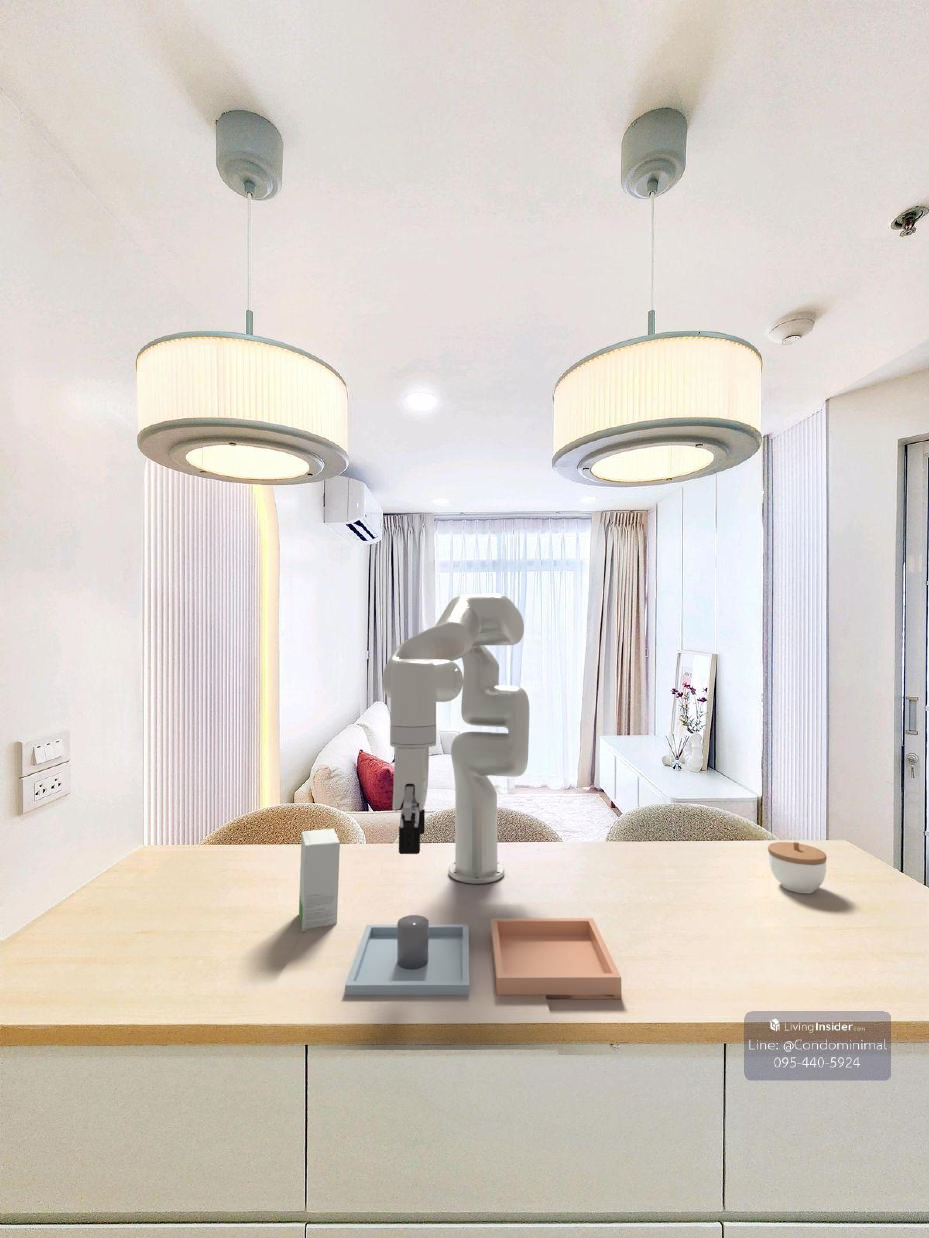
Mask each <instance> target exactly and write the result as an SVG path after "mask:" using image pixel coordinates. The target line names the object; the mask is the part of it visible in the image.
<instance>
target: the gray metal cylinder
mask: <svg viewBox="0 0 929 1238" xmlns="http://www.w3.org/2000/svg"><path fill="white" fill-rule="evenodd" d="M396 925H397V963H398V965H399V966H400V967H402V968H404V969H409V970H414V969H419V968H422V967H424V966H425V965H426V964H427V963H428V925H430V924H429V919H428V918H427V917H426V916H422V915H419V914H411V915H410V914H409V915H406V916H403V917H401V918H399V919H398V921H397V923H396Z"/></svg>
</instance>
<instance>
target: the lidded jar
mask: <svg viewBox="0 0 929 1238" xmlns="http://www.w3.org/2000/svg"><path fill="white" fill-rule="evenodd" d="M767 851H768V862H769V867H770V870H771V873H772V876H774V879H776V880H777V881H778V883H780V885H781V887H782V888H784V889H785V890H787V891H790V892H793V893H798V894H807V895H808V894H813V893H814V892H815V890H817V889H818V888H820V886H821V885H822V884H823V883H824V881H825V878H826V872H827V859H828V858H827V854H826V853H825V852H824V851H823V850H821V849H819V848H816V847H815V846H812V845H808V844H804V843H799V841H793V842H791V841H790V842H788V841H777V842H776V841H775V842H772V843H770V844H768V846H767Z"/></svg>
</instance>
